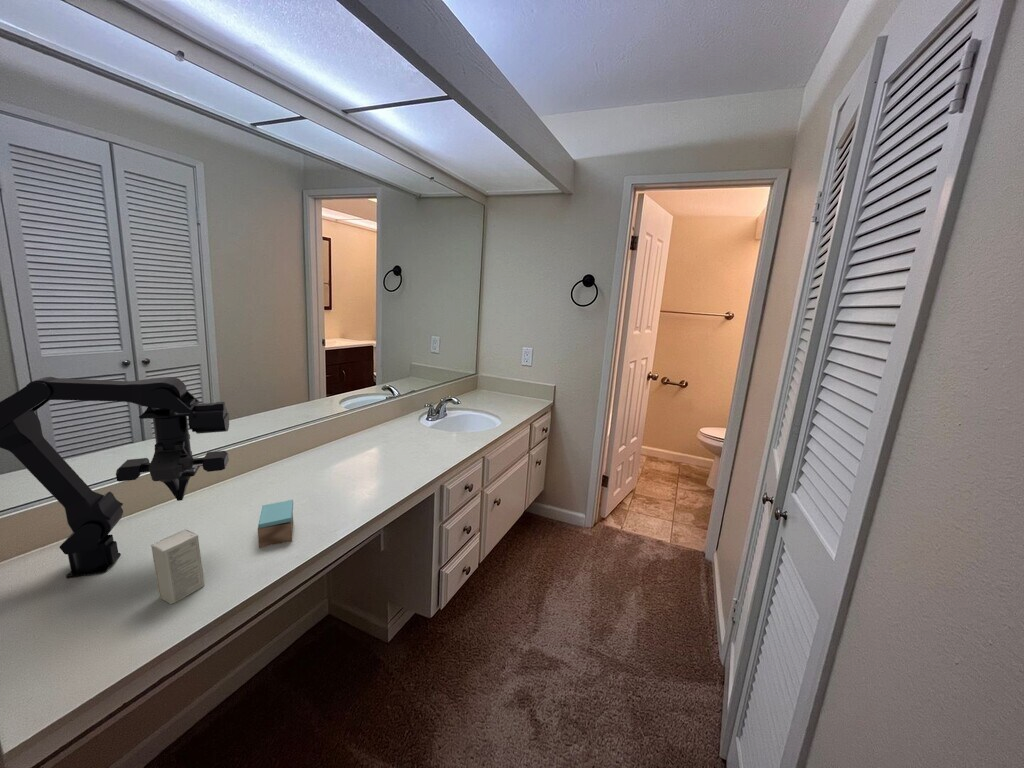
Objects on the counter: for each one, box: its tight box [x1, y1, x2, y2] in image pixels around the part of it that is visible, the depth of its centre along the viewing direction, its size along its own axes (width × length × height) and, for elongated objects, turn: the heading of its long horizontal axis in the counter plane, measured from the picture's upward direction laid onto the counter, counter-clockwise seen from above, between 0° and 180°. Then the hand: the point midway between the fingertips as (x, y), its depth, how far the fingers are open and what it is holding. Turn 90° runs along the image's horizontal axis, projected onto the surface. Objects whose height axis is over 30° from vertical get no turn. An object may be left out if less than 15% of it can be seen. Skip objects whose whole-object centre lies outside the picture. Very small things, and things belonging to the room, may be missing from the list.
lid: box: [257, 499, 294, 528], centre depth 102 cm, size 7×9×1 cm
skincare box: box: [150, 528, 205, 605], centre depth 81 cm, size 6×4×12 cm
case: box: [257, 513, 294, 548], centre depth 103 cm, size 7×9×5 cm
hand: (180, 499), depth 92 cm, fingers closed
